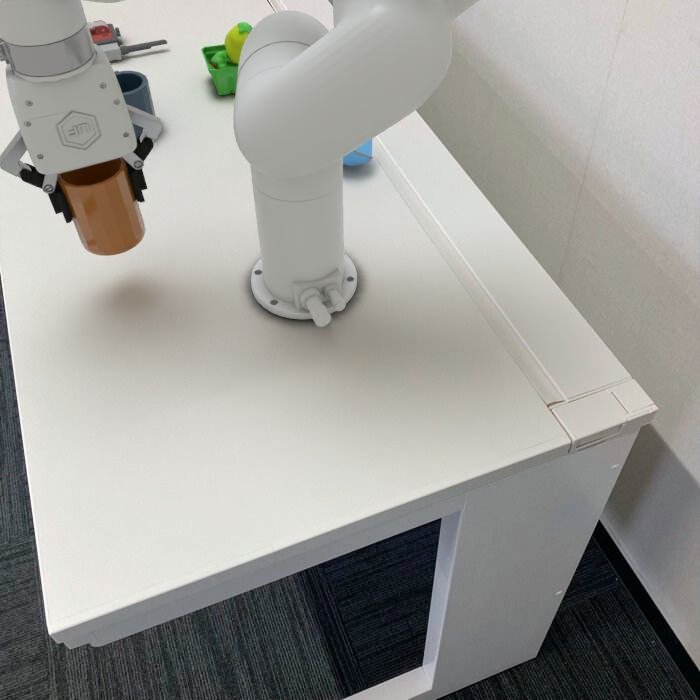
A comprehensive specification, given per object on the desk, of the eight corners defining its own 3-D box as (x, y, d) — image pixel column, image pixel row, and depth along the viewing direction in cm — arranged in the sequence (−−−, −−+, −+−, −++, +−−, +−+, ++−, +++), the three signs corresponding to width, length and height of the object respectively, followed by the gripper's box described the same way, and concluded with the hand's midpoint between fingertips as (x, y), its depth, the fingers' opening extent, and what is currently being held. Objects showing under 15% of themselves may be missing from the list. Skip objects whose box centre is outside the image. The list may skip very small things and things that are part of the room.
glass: (152, 244, 84) (131, 176, 78) (88, 263, 83) (61, 195, 76) (137, 208, 89) (116, 140, 82) (76, 225, 87) (50, 157, 80)
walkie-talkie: (48, 75, 124) (170, 52, 129) (39, 49, 121) (165, 26, 126) (41, 51, 130) (158, 29, 135) (33, 25, 127) (153, 4, 131)
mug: (163, 139, 112) (152, 88, 106) (118, 149, 111) (104, 99, 105) (147, 107, 118) (136, 57, 112) (104, 116, 116) (90, 67, 110)
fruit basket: (274, 66, 126) (268, -3, 118) (286, 94, 120) (281, 23, 112) (204, 77, 124) (193, 7, 115) (214, 105, 118) (203, 34, 110)
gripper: (-48, 89, 65) (26, 249, 78) (154, 42, 69) (191, 202, 82) (-55, 50, 69) (16, 207, 83) (135, 8, 74) (173, 165, 87)
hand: (103, 204), depth 82 cm, fingers closed on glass, 7 cm apart
